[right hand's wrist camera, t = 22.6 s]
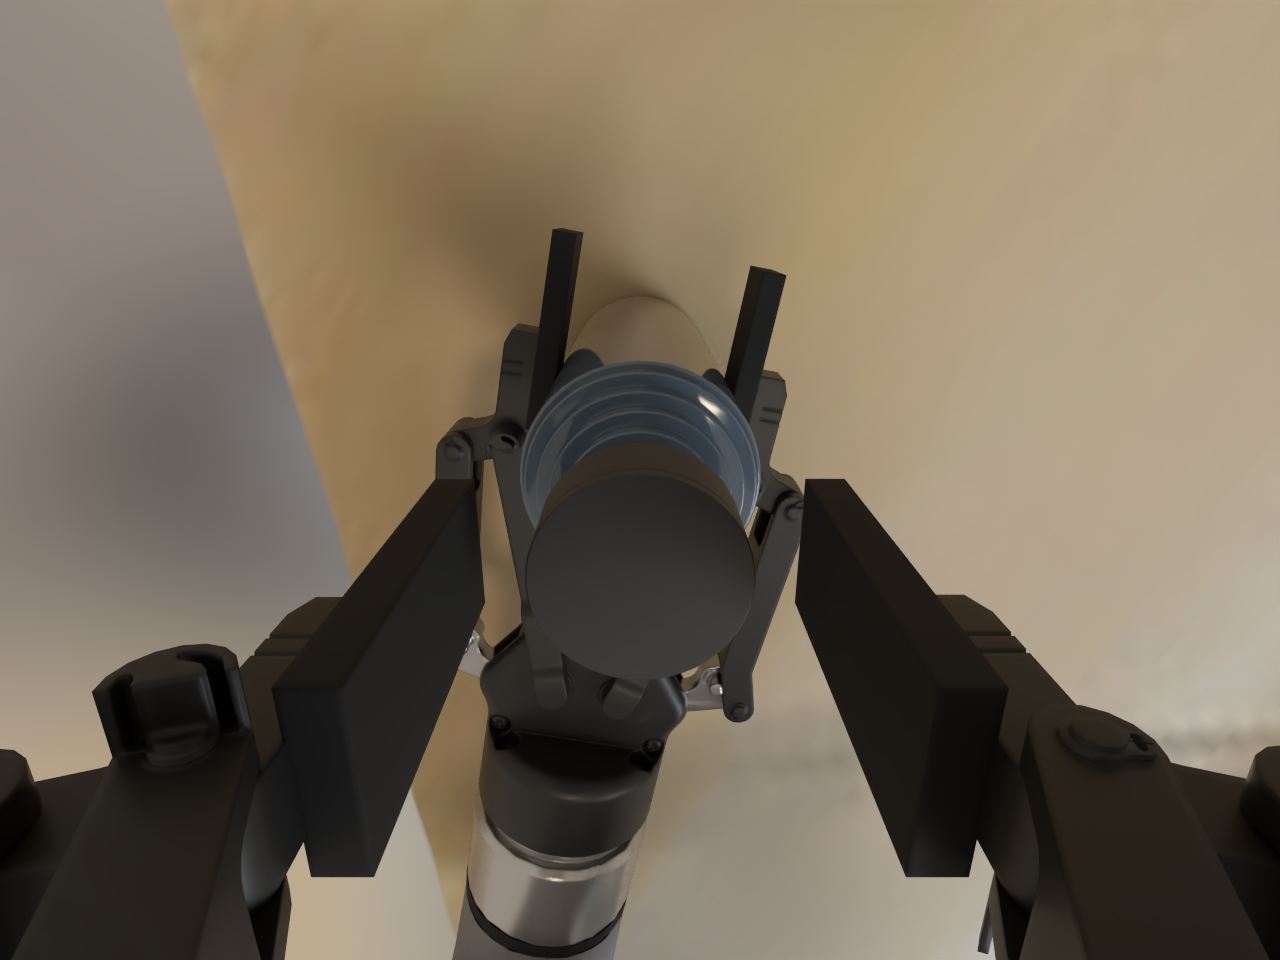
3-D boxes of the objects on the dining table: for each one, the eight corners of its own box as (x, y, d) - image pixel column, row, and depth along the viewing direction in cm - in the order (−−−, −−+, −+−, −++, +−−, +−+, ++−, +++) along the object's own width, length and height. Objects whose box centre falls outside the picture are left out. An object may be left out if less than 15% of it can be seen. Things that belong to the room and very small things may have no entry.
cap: (520, 602, 15) (504, 653, 13) (563, 418, 14) (551, 449, 12) (708, 644, 15) (717, 701, 13) (768, 470, 14) (787, 507, 12)
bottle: (628, 453, 33) (615, 744, 15) (545, 353, 31) (413, 538, 13) (733, 376, 32) (860, 588, 13) (652, 266, 30) (671, 339, 12)
